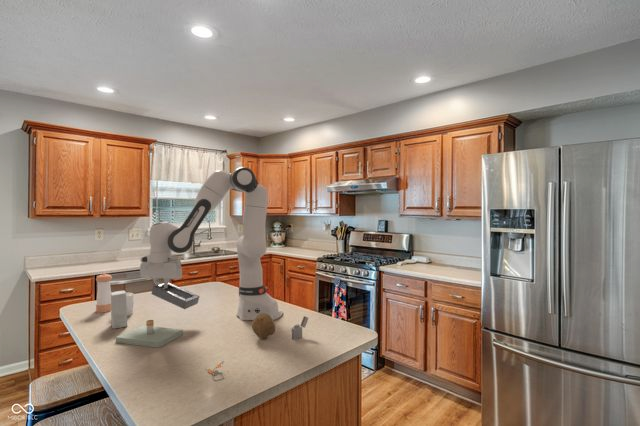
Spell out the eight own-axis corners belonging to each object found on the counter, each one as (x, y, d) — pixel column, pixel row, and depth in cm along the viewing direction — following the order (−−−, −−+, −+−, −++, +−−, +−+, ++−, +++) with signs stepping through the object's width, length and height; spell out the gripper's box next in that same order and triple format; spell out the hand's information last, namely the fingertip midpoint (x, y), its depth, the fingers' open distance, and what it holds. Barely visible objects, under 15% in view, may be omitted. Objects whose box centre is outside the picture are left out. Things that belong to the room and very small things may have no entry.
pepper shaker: (107, 312, 173) (106, 274, 173) (92, 312, 173) (92, 274, 173) (115, 308, 181) (115, 271, 180) (102, 308, 181) (101, 271, 180)
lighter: (293, 339, 137) (293, 319, 137) (291, 338, 138) (291, 318, 138) (308, 335, 141) (308, 316, 141) (306, 334, 142) (306, 315, 142)
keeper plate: (182, 334, 143) (182, 317, 143) (158, 347, 130) (158, 329, 129) (143, 329, 148) (142, 313, 148) (115, 342, 135) (115, 324, 135)
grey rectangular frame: (197, 303, 157) (199, 296, 156) (184, 309, 148) (186, 301, 148) (165, 289, 161) (167, 282, 161) (151, 294, 153) (153, 286, 152)
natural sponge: (249, 336, 141) (249, 311, 141) (270, 332, 144) (270, 309, 144) (254, 344, 133) (254, 318, 132) (277, 340, 136) (276, 315, 136)
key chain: (234, 377, 107) (234, 374, 107) (210, 383, 104) (210, 380, 104) (225, 361, 118) (225, 359, 118) (203, 366, 115) (202, 363, 115)
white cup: (111, 316, 168) (111, 295, 167) (126, 311, 175) (126, 292, 175) (123, 318, 165) (123, 297, 164) (137, 313, 172) (137, 293, 172)
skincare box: (127, 326, 153) (127, 293, 152) (111, 329, 149) (111, 295, 149) (126, 321, 160) (125, 289, 159) (110, 324, 156) (110, 291, 156)
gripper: (185, 257, 156) (185, 287, 157) (147, 256, 162) (148, 285, 162) (175, 259, 150) (176, 290, 151) (137, 258, 156) (138, 288, 156)
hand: (161, 288), depth 156 cm, fingers closed on grey rectangular frame, 2 cm apart
